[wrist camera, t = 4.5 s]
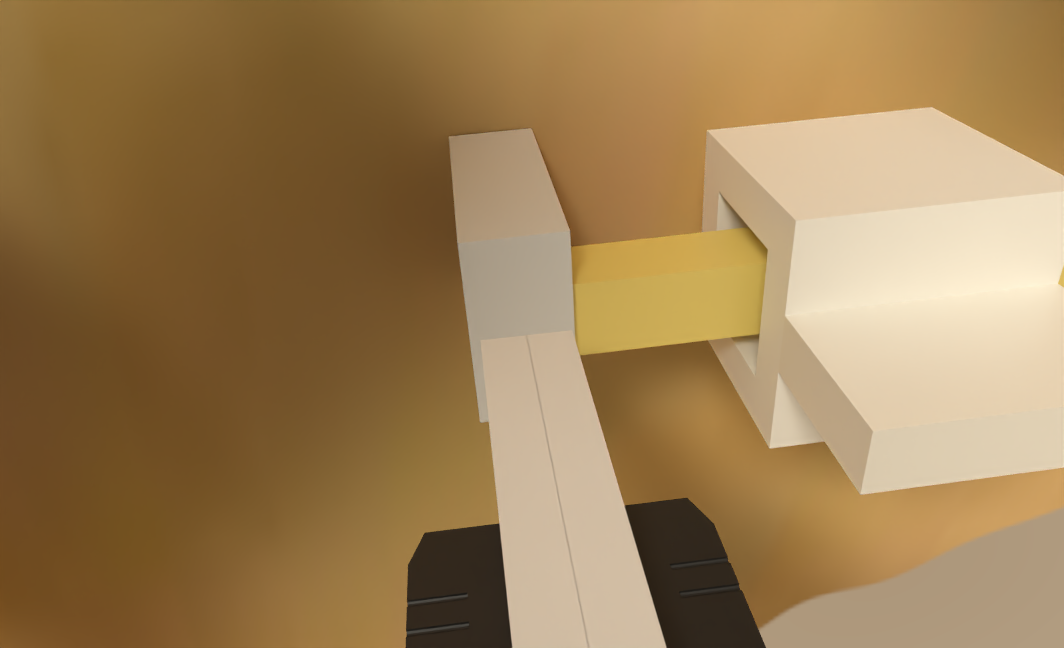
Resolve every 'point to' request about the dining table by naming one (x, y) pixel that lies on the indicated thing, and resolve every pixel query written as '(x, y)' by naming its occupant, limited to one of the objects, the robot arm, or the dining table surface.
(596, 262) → the rail
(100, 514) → the dining table surface
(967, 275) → the sleeve
